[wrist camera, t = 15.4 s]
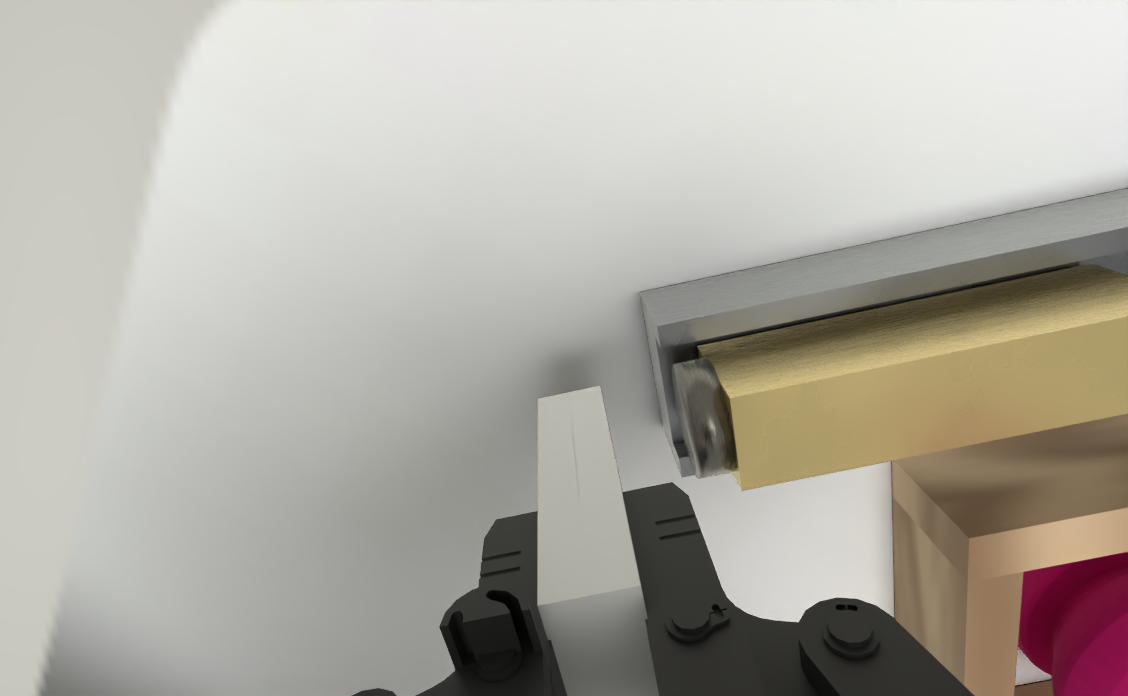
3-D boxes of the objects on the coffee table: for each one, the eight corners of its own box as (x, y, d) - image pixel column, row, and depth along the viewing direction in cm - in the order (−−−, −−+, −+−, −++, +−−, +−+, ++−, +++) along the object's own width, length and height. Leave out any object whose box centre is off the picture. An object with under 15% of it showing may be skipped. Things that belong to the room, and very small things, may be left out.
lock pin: (680, 439, 18) (708, 505, 15) (665, 345, 17) (691, 397, 14) (1081, 357, 17) (1187, 409, 14) (1092, 255, 16) (1209, 291, 13)
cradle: (897, 735, 26) (958, 845, 22) (891, 457, 21) (969, 538, 17) (1233, 673, 25) (1354, 775, 21) (1307, 374, 20) (1480, 438, 17)
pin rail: (668, 462, 20) (731, 636, 14) (631, 247, 18) (687, 340, 11) (1318, 330, 20) (1702, 450, 13) (1379, 86, 17) (1896, 87, 11)
